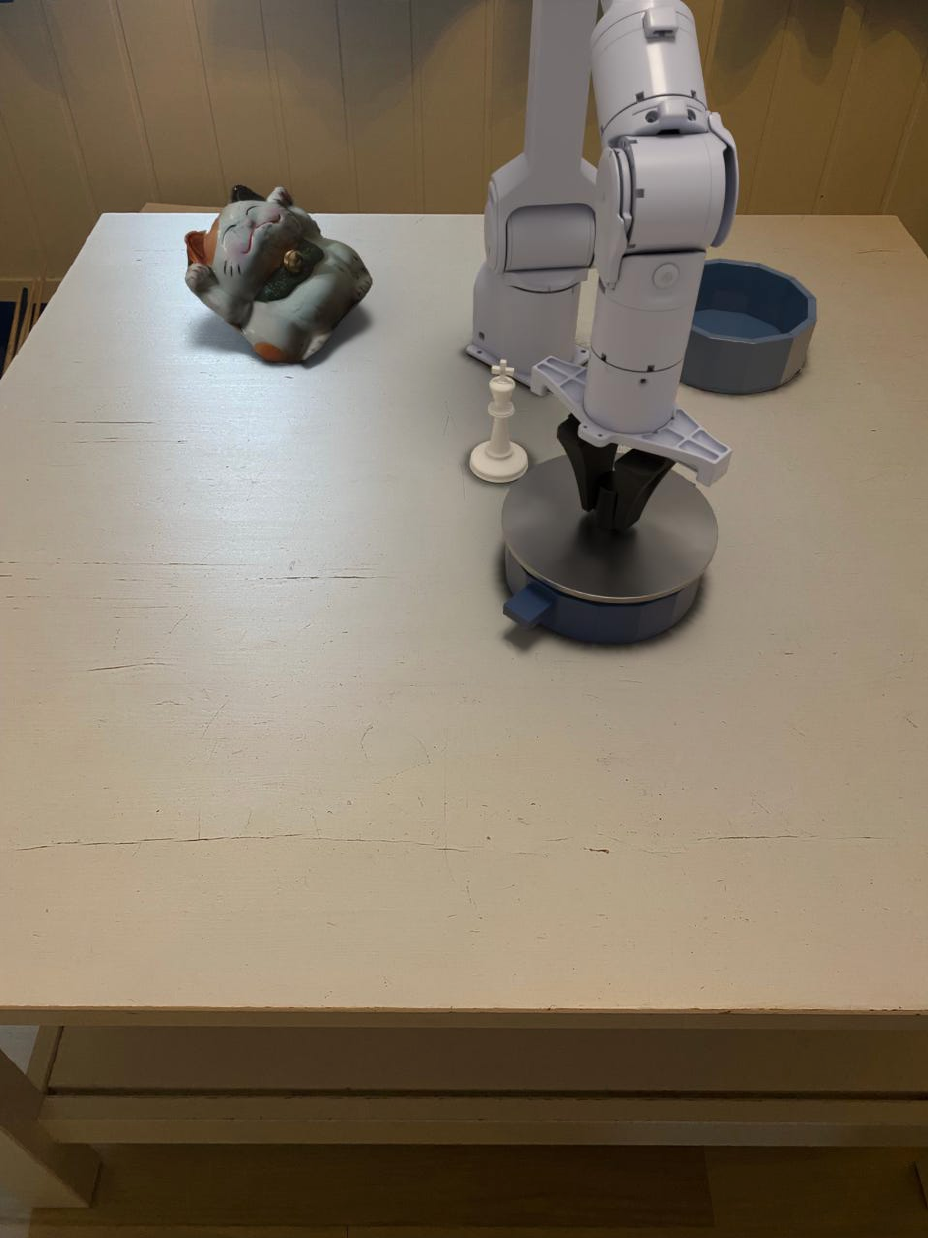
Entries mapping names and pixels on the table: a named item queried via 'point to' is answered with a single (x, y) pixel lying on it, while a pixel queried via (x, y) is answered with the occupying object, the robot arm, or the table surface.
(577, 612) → the pan
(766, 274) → the pot
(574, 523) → the lid
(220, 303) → the lucky cat figurine
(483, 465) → the chess piece
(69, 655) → the table surface
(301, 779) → the table surface
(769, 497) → the table surface
